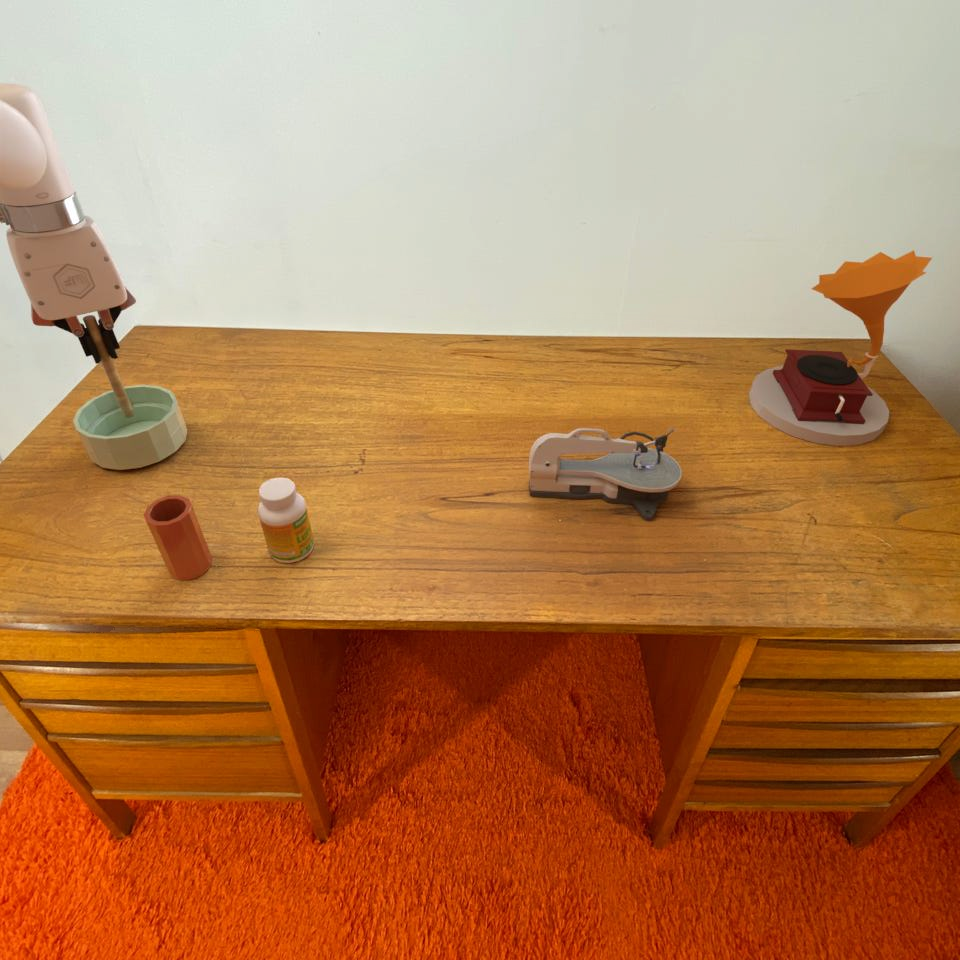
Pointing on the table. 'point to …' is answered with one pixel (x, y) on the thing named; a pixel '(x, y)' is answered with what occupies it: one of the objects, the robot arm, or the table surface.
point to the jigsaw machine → (603, 469)
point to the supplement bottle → (284, 521)
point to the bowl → (131, 428)
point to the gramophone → (838, 361)
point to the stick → (109, 366)
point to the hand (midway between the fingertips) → (104, 355)
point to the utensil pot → (178, 537)
